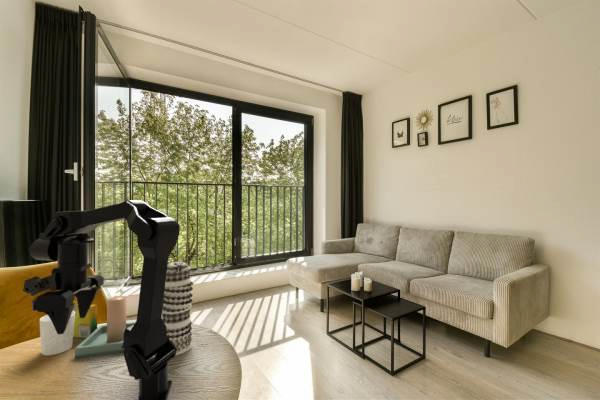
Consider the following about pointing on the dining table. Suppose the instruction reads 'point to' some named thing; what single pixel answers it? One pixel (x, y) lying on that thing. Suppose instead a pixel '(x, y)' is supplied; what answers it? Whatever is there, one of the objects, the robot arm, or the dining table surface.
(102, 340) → the tray
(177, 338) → the decorative candle
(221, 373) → the dining table surface
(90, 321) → the crayon box
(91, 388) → the dining table surface
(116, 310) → the peach rounded cone
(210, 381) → the dining table surface
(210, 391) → the dining table surface
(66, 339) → the white cup
